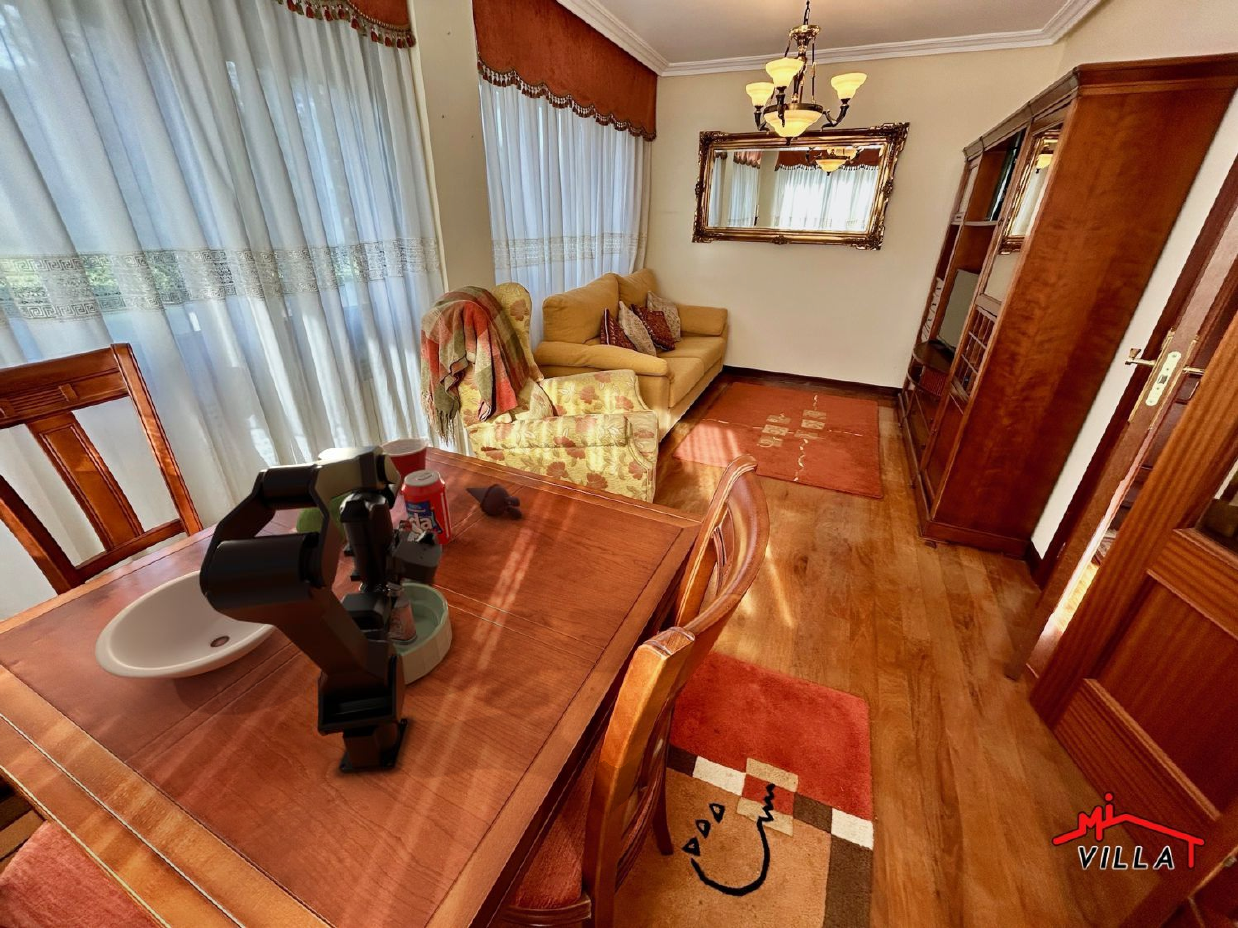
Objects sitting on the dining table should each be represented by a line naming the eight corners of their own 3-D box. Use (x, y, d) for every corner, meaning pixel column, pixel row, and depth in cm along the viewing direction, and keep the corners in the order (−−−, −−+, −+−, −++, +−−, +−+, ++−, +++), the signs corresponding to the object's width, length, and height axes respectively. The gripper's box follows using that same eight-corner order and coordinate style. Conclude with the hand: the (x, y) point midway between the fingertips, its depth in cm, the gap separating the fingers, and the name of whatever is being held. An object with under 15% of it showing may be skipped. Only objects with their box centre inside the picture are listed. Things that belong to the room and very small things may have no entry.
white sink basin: (341, 624, 81) (332, 593, 78) (160, 744, 62) (139, 708, 59) (261, 573, 91) (250, 543, 89) (86, 662, 73) (65, 628, 70)
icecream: (452, 487, 109) (508, 510, 104) (473, 467, 114) (528, 487, 109) (459, 509, 114) (513, 532, 109) (479, 489, 118) (532, 509, 113)
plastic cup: (425, 475, 127) (418, 431, 122) (442, 492, 120) (435, 446, 114) (380, 487, 121) (371, 442, 115) (395, 506, 113) (386, 458, 108)
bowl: (439, 689, 71) (434, 659, 68) (318, 697, 69) (308, 666, 66) (460, 608, 85) (456, 581, 82) (361, 613, 83) (353, 585, 81)
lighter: (363, 634, 75) (349, 582, 71) (379, 619, 78) (367, 568, 74) (407, 649, 73) (396, 596, 68) (423, 633, 76) (413, 581, 71)
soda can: (461, 537, 103) (452, 473, 97) (432, 558, 97) (420, 491, 90) (433, 527, 106) (423, 464, 100) (403, 546, 100) (390, 480, 93)
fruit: (348, 513, 110) (338, 473, 106) (386, 521, 108) (378, 481, 103) (289, 552, 97) (275, 508, 93) (331, 563, 95) (319, 518, 90)
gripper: (414, 575, 60) (431, 668, 67) (446, 497, 76) (458, 578, 83) (315, 579, 59) (344, 673, 66) (370, 498, 75) (388, 580, 82)
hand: (390, 620), depth 74 cm, fingers closed on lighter, 4 cm apart
